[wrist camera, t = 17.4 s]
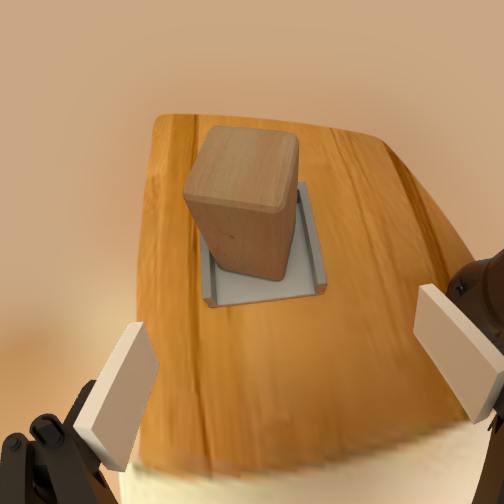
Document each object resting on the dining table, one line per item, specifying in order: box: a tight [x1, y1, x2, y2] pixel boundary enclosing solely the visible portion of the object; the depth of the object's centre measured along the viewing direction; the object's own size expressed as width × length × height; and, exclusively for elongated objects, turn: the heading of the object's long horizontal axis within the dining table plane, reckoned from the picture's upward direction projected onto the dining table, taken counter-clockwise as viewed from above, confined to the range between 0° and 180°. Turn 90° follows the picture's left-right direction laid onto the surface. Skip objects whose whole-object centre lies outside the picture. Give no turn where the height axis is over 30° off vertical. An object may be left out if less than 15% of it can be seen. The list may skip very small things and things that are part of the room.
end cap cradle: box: [200, 182, 327, 308], centre depth 46 cm, size 16×16×5 cm
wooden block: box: [183, 126, 299, 281], centre depth 38 cm, size 10×10×20 cm
